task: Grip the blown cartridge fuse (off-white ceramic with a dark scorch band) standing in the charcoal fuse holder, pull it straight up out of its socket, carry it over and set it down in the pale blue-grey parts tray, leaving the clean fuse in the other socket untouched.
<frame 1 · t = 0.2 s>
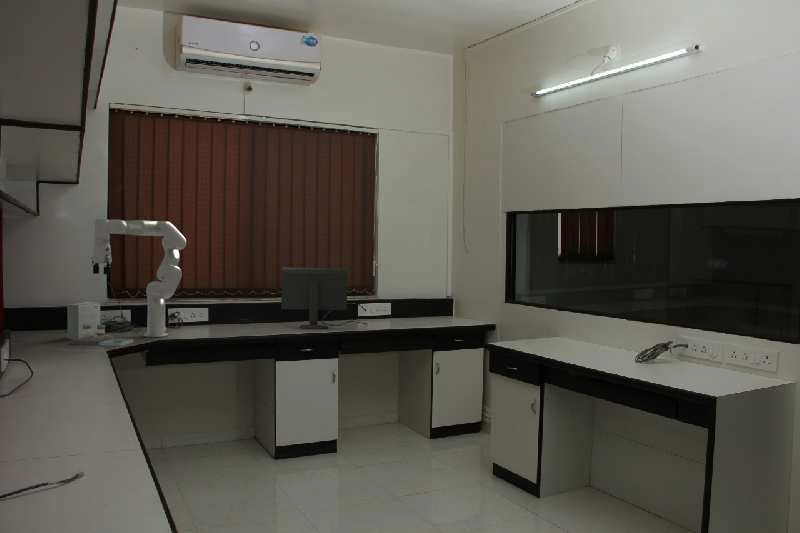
hand: (101, 274, 333), 37 cm above the counter, tool pointing down, fingers open, 9 cm apart
computer monitor: (313, 327, 418), on the counter
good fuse: (86, 342, 326), point 1 cm above the counter, touching fuse holder
fuse holder: (93, 344, 326), on the counter
hard drive box: (84, 339, 341), on the counter
blown fuse: (100, 342, 326), point 1 cm above the counter, touching fuse holder
parts tray: (116, 345, 323), on the counter
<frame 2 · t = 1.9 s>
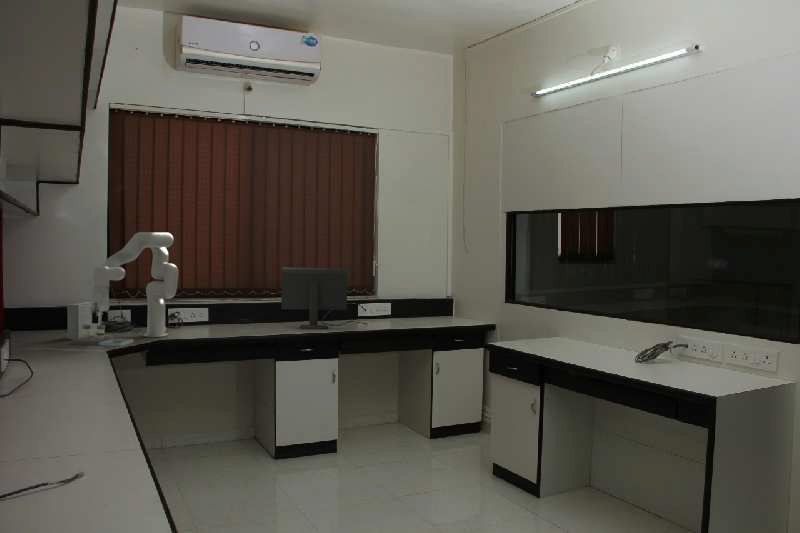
hand: (100, 322, 325), 11 cm above the counter, tool pointing down, fingers open, 9 cm apart
nothing on the counter moved.
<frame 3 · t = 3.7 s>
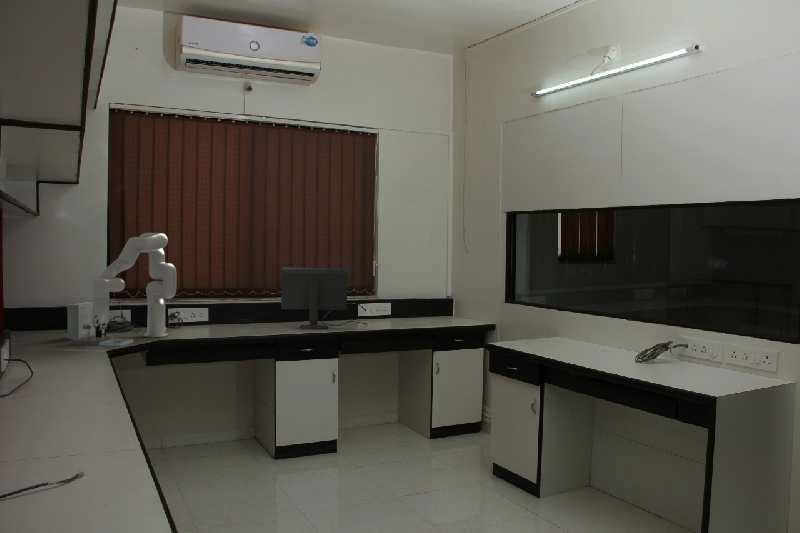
hand: (100, 336, 325), 4 cm above the counter, tool pointing down, fingers closed on blown fuse, 3 cm apart
blown fuse: (100, 342, 326), point 1 cm above the counter, touching fuse holder, gripper
everything else where it was.
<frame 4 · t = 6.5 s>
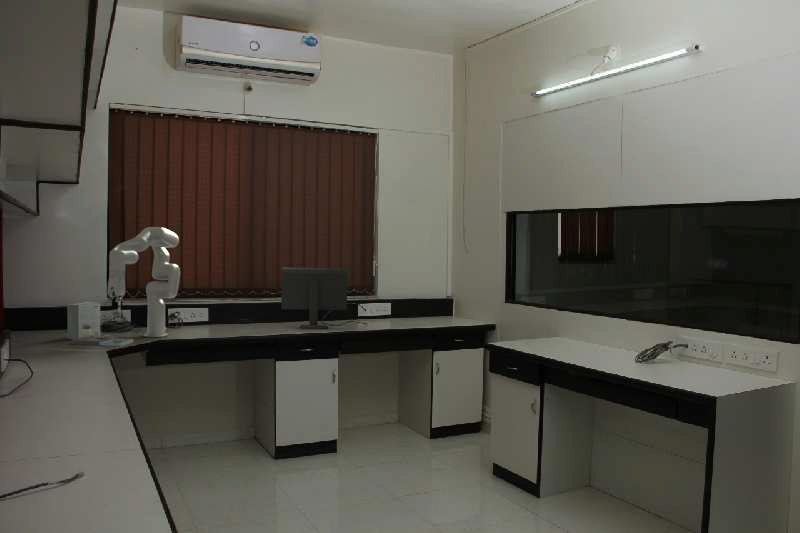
hand: (116, 308, 322), 19 cm above the counter, tool pointing down, fingers closed on blown fuse, 3 cm apart
blown fuse: (116, 314, 322), point 16 cm above the counter, touching gripper
everything else where it was.
when the fingers open (5 cm above the counter, at t = 9.4 s): blown fuse stays where it is, resting on parts tray.
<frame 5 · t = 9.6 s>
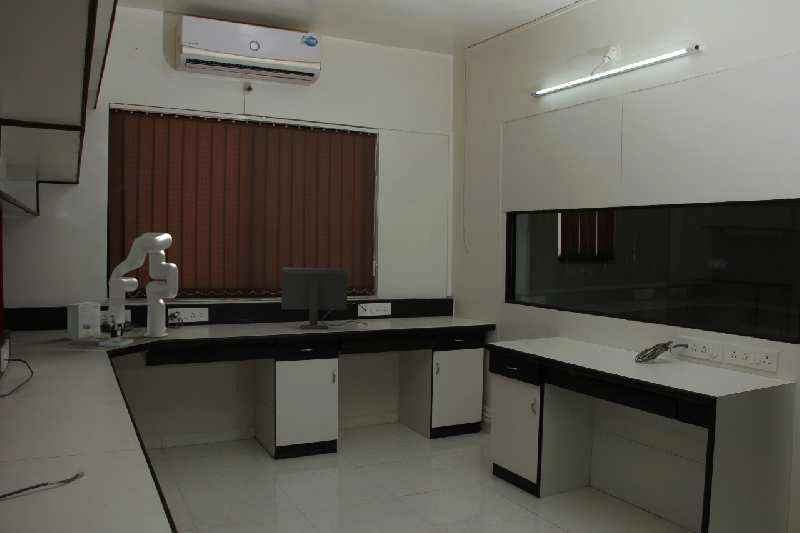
hand: (116, 336, 323), 5 cm above the counter, tool pointing down, fingers open, 5 cm apart
blown fuse: (116, 344, 323), point 1 cm above the counter, touching parts tray
everything else where it was.
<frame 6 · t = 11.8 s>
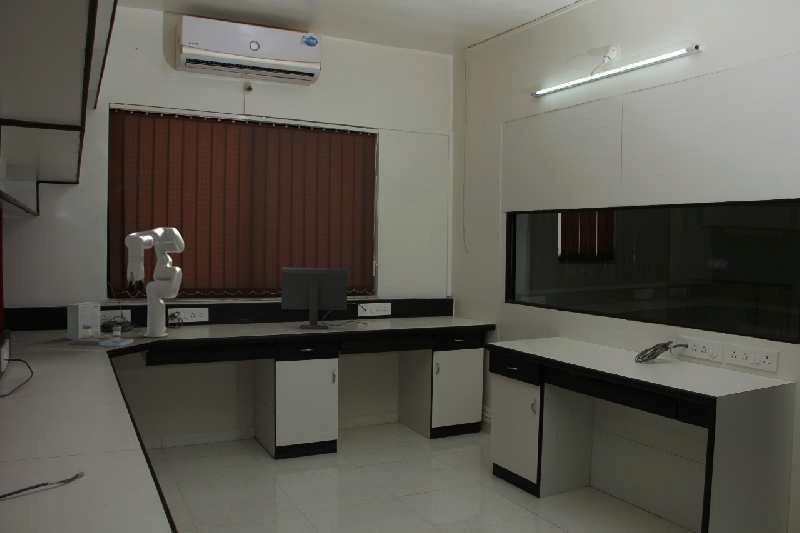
hand: (136, 291, 332), 28 cm above the counter, tool pointing down, fingers open, 9 cm apart
nothing on the counter moved.
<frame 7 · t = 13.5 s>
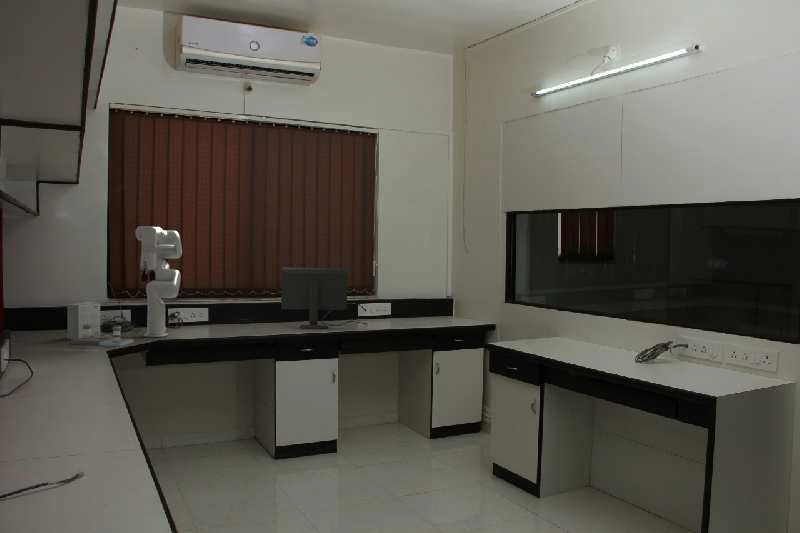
hand: (148, 280, 338), 33 cm above the counter, tool pointing down, fingers open, 9 cm apart
nothing on the counter moved.
at the end: blown fuse inside the target area on the parts tray (0.0 cm from its centre), point 0.6 cm above the parts tray's base; the gripper is holding nothing; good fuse moved 0.0 cm from its start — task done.
